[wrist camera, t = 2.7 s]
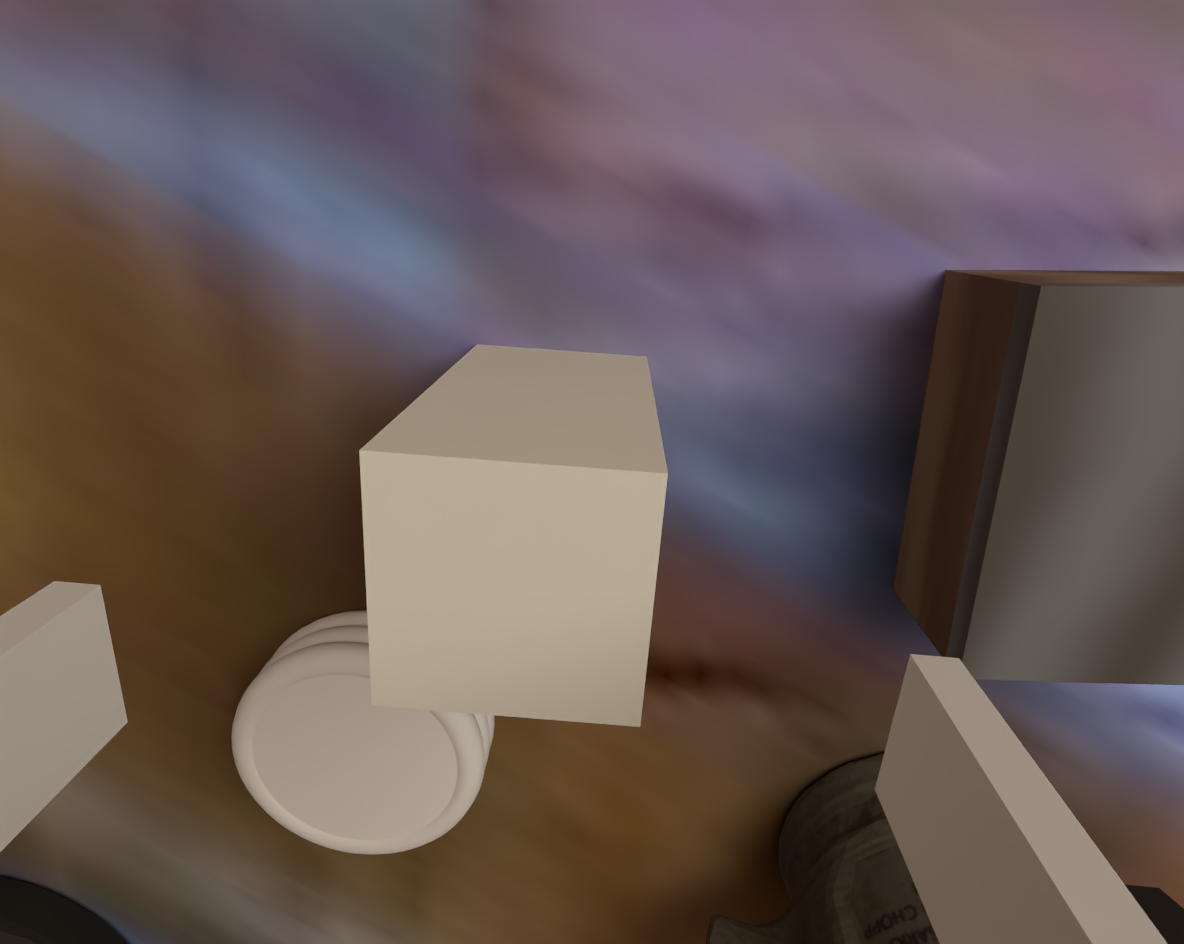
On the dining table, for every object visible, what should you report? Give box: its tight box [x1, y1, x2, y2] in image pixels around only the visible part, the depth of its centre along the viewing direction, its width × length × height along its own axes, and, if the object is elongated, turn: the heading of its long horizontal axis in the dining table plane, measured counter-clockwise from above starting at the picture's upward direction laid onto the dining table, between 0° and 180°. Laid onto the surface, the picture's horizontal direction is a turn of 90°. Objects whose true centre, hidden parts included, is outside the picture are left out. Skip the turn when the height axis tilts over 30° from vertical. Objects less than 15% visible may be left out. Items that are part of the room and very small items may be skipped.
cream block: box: [359, 344, 668, 727], centre depth 20 cm, size 6×6×12 cm
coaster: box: [231, 610, 495, 854], centre depth 29 cm, size 10×10×4 cm
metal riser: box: [893, 270, 1184, 685], centre depth 23 cm, size 12×12×6 cm
